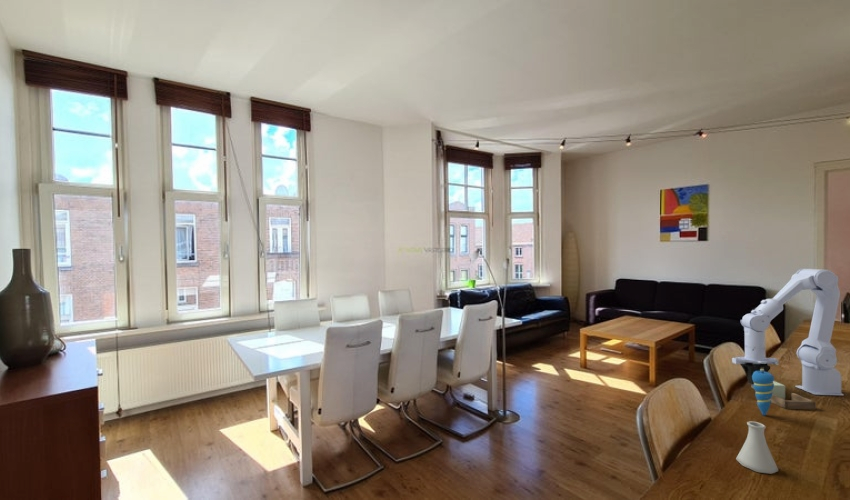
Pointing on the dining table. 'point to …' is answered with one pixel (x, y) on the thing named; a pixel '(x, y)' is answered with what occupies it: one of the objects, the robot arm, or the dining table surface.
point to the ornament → (763, 389)
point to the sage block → (777, 389)
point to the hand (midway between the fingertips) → (755, 383)
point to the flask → (756, 451)
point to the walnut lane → (794, 402)
